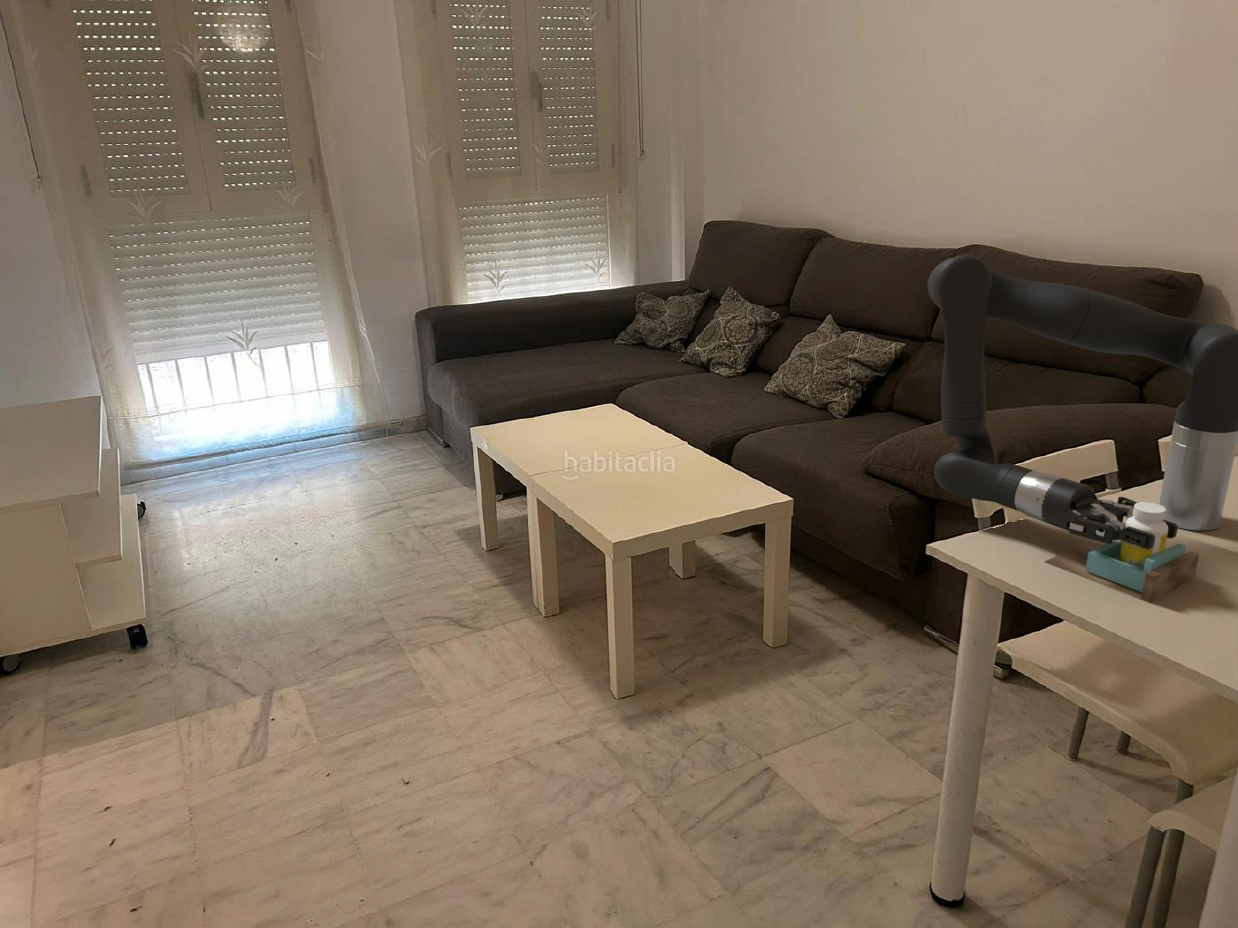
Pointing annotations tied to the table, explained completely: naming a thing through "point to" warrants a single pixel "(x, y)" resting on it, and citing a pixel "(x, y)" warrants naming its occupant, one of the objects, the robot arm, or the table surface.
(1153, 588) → the walnut board
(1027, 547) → the table surface
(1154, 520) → the supplement bottle
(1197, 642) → the table surface
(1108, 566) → the teal open tray
